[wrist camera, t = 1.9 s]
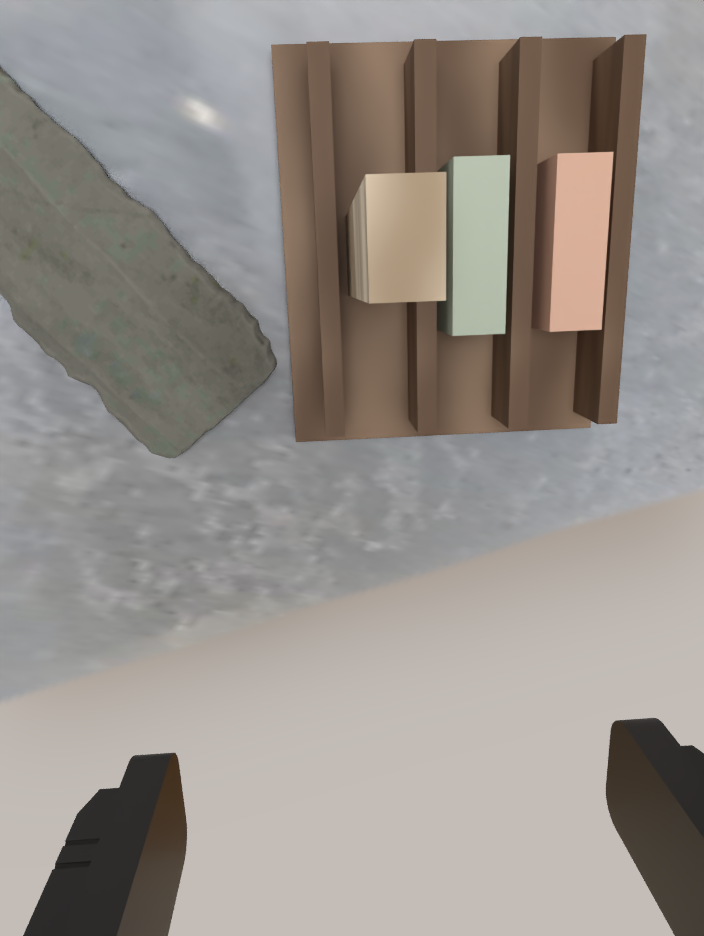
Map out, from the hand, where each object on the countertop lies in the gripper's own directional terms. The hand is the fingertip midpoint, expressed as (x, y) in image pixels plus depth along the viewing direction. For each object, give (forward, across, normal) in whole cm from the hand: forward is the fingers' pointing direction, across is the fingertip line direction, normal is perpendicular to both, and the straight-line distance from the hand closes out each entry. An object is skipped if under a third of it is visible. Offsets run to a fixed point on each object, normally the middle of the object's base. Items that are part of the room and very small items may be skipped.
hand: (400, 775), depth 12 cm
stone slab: (+29, -14, +10) cm, 34 cm away
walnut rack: (+28, +6, +10) cm, 30 cm away
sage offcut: (+27, +7, +10) cm, 29 cm away
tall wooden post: (+27, +2, +10) cm, 28 cm away
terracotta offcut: (+27, +12, +10) cm, 31 cm away
